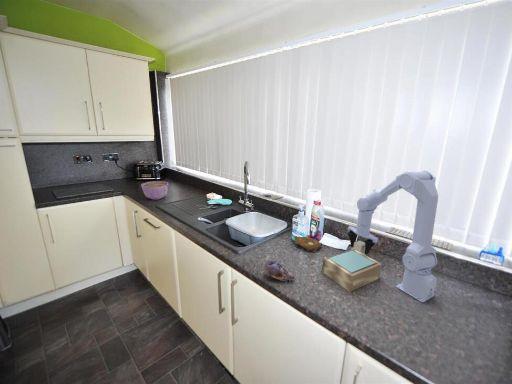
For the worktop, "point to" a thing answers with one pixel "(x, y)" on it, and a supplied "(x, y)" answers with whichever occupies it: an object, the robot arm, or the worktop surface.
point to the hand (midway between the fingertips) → (359, 250)
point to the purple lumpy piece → (277, 271)
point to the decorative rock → (308, 243)
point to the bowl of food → (155, 189)
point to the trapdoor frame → (349, 279)
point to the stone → (359, 247)
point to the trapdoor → (352, 261)
